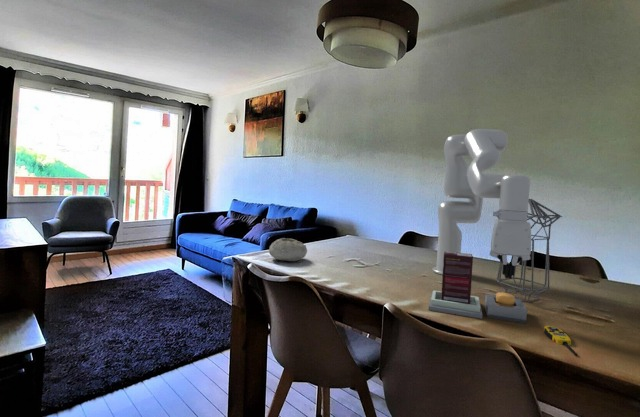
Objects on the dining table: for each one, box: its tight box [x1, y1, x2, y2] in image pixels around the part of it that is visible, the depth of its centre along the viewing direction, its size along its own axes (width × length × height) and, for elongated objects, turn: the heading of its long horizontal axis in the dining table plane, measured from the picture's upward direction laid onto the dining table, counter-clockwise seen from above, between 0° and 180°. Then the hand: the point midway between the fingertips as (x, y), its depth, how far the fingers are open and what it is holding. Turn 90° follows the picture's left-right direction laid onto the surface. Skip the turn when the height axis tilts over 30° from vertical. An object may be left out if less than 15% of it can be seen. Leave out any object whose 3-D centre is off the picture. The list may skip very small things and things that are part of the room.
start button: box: [495, 292, 516, 306], centre depth 104 cm, size 5×5×3 cm
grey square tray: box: [428, 289, 483, 320], centre depth 109 cm, size 14×15×3 cm
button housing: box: [484, 293, 528, 324], centre depth 104 cm, size 10×10×4 cm
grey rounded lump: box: [268, 237, 308, 262], centre depth 163 cm, size 18×18×10 cm
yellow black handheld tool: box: [543, 325, 578, 357], centre depth 87 cm, size 5×2×15 cm
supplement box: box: [441, 252, 474, 304], centre depth 109 cm, size 9×5×16 cm, turn 70°
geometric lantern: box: [496, 198, 563, 303], centre depth 121 cm, size 16×16×35 cm
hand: (507, 277), depth 103 cm, fingers closed
